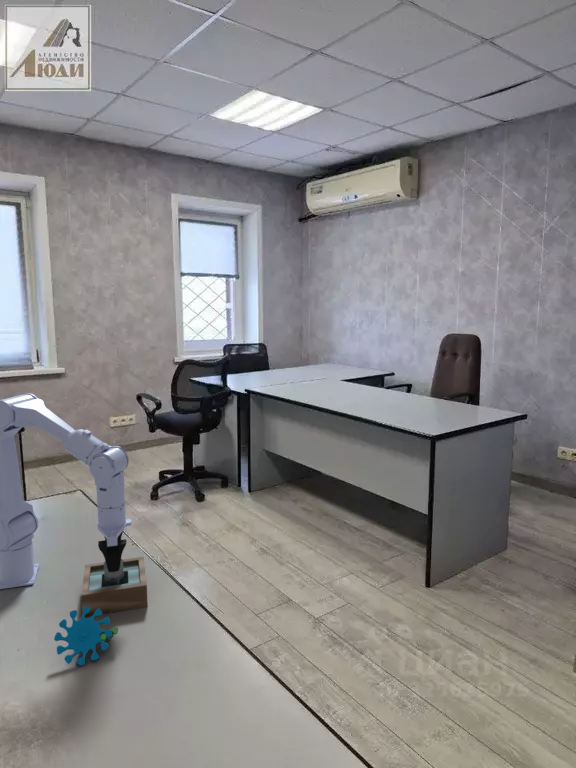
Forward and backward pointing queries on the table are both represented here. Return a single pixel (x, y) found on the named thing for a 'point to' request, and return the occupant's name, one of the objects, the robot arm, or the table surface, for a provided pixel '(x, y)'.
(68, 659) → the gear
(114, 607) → the bore box
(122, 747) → the table surface
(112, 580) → the peg
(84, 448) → the robot arm
